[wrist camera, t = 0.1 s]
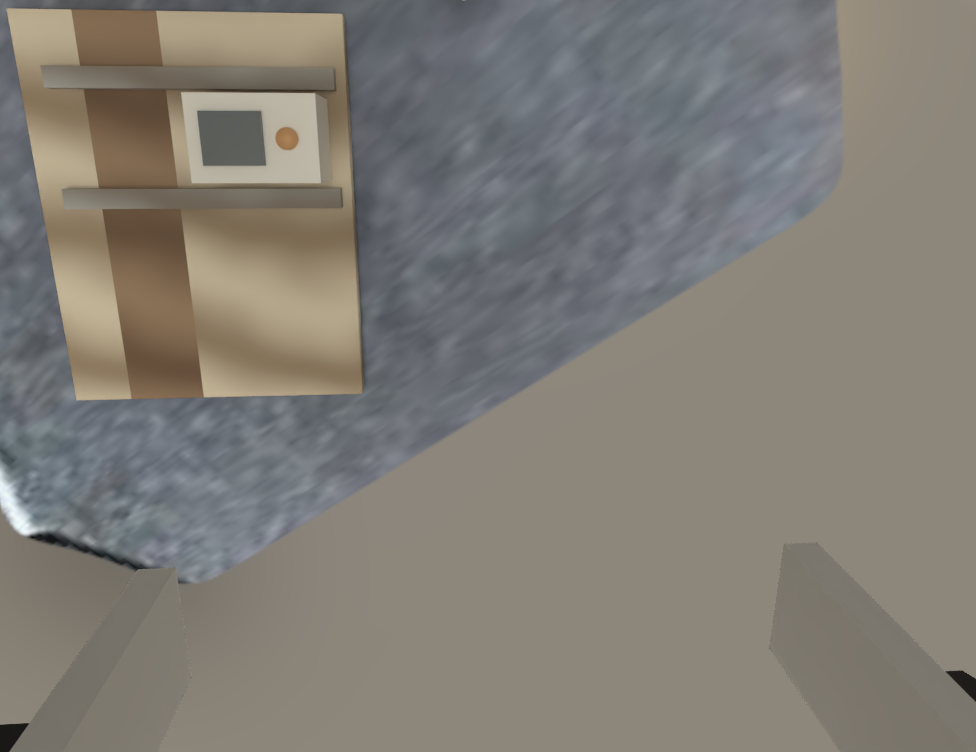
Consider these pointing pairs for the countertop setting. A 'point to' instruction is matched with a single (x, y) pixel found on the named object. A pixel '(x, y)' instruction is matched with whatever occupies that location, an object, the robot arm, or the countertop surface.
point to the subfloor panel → (189, 206)
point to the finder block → (257, 137)
